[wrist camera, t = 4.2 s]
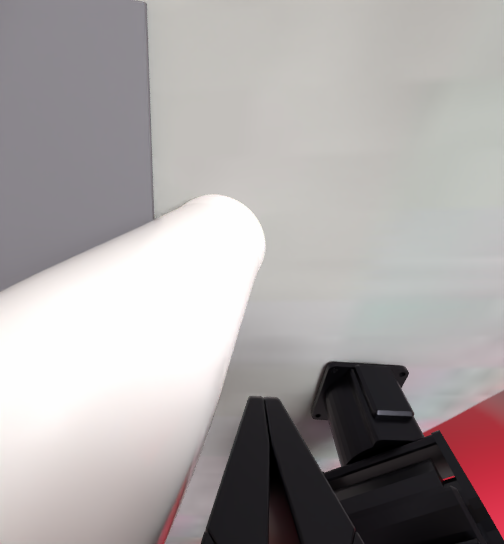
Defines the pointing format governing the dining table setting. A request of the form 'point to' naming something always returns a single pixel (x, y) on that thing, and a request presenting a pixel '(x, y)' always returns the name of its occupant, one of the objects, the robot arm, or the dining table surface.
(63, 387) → the drinking glass
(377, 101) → the dining table surface
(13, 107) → the mat
